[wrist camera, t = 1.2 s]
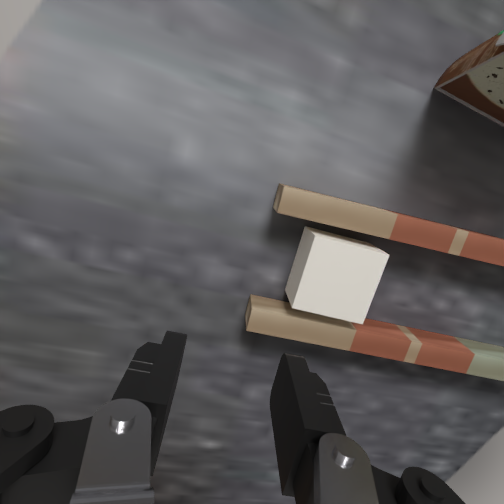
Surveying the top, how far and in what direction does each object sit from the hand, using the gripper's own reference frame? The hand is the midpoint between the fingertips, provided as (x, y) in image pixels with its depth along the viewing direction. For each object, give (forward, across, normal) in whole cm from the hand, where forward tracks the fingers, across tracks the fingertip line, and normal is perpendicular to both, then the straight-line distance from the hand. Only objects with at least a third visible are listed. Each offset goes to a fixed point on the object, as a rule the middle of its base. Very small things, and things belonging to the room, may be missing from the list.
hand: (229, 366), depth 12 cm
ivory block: (+17, -8, 0) cm, 19 cm away
